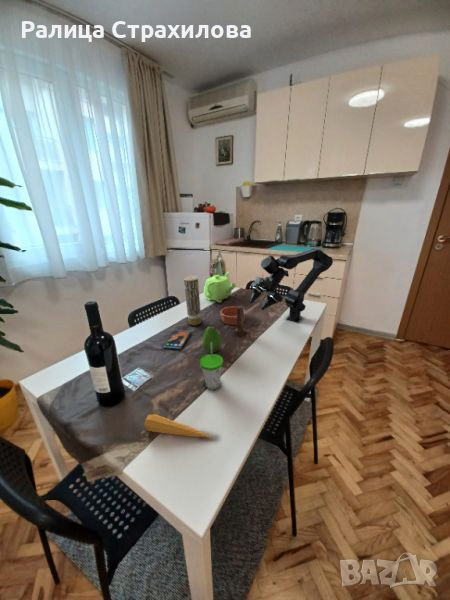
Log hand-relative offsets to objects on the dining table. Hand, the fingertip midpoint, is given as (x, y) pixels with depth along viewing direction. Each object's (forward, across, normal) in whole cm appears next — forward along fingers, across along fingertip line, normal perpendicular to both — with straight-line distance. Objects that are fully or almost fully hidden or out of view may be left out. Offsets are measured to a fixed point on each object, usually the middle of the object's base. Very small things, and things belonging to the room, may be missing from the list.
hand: (255, 306), depth 112 cm
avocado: (+27, +6, -11) cm, 30 cm away
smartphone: (+34, -10, -18) cm, 40 cm away
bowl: (+12, -15, +6) cm, 21 cm away
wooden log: (+25, -22, -9) cm, 35 cm away
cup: (+32, +25, -17) cm, 44 cm away
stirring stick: (+15, -1, +3) cm, 15 cm away
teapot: (+7, -46, +12) cm, 48 cm away
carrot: (+43, +38, -29) cm, 64 cm away
